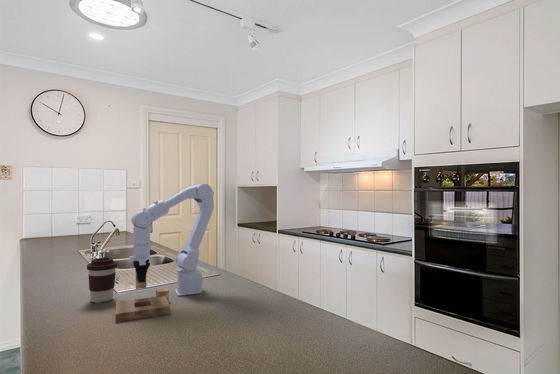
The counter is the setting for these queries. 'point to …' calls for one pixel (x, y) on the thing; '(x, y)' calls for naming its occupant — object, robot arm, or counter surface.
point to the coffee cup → (101, 279)
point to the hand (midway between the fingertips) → (141, 280)
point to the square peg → (140, 285)
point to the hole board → (142, 308)
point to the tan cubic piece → (163, 293)
